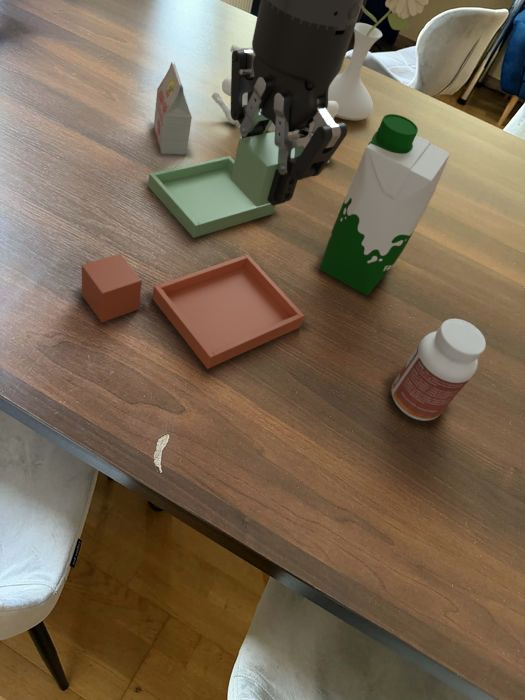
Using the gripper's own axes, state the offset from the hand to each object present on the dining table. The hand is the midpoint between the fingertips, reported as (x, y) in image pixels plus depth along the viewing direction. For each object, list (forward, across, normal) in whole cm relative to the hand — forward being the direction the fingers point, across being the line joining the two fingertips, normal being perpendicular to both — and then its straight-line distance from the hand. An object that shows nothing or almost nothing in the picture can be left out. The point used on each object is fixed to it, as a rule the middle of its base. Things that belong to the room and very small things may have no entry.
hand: (262, 185), depth 56 cm
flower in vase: (+16, -30, +45) cm, 56 cm away
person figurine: (+16, -26, +25) cm, 40 cm away
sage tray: (+16, -16, +7) cm, 23 cm away
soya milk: (+16, +3, +18) cm, 24 cm away
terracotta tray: (+16, +2, -2) cm, 16 cm away
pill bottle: (+16, +22, +10) cm, 29 cm away
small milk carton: (+16, -30, +9) cm, 35 cm away
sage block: (0, 0, 0) cm, 0 cm away
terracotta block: (+15, -5, -13) cm, 21 cm away
